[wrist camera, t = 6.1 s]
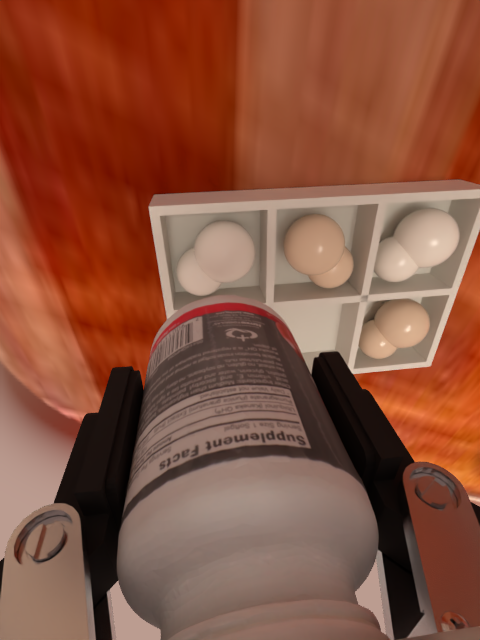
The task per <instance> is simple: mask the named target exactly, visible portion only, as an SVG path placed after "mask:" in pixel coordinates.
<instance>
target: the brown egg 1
mask: <svg viewBox="0 0 480 640" xmlns="http://www.w3.org/2000/svg"><path fill="white" fill-rule="evenodd" d="M283 248H284V254H285V257H286V259H287V261H288V263H289V264H290V265H291V267H292V268H293V269H295V270H296V271H298V272H300V273H302V274H305V275H308V277H309V279H310V280H311V281H312V282H313V283H314V284H316V285H317V286H319V287H322V288H335V287H338V286H340V285H342V284H343V283H345V282H346V281H347V280H348V279H349V277H350V276H351V274H352V271H353V267H354V261H353V257H352V254H351V252H350V251H349V250H348V248H347V247H346V246H345V237H344V233H343V231H342V229H341V227H340V226H339V225H338V223H337V222H336V221H335V220H333V219H332V218H330V217H328V216H326V215H322V214H309V215H305V216H303V217H301V218H299V219H297V220H296V221H295V222H294V223H293V224H292V225H291V226H290V227H289V229H288V230H287V232H286V235H285V238H284V243H283Z"/></svg>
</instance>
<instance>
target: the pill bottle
mask: <svg viewBox="0 0 480 640" xmlns="http://www.w3.org/2000/svg"><path fill="white" fill-rule="evenodd" d="M378 541H379V534H378V526H377V521H376V517H375V514H374V511H373V509H372V506H371V503H370V500H369V498H368V494H367V492H366V489H365V486H364V484H363V481H362V479H361V478H360V476H359V474H358V473H357V471H356V469H355V467H354V465H353V463H352V461H351V459H350V457H349V455H348V453H347V451H346V449H345V447H344V445H343V443H342V441H341V439H340V436H339V434H338V432H337V430H336V428H335V426H334V424H333V421H332V419H331V417H330V415H329V413H328V411H327V409H326V407H325V405H324V402H323V400H322V398H321V395H320V393H319V391H318V389H317V386H316V384H315V382H314V380H313V378H312V376H311V373H310V371H309V369H308V367H307V365H306V363H305V360H304V358H303V356H302V354H301V351H300V349H299V347H298V345H297V343H296V341H295V339H294V337H293V334H292V332H291V331H290V329H289V327H288V326H287V324H286V323H285V321H284V320H283V319H282V317H281V316H280V315H279V314H277V313H276V312H275V311H274V310H273V309H271V308H270V307H269V306H267V305H265V304H263V303H261V302H259V301H257V300H254V299H250V298H245V297H240V296H236V295H217V296H212V297H208V298H204V299H201V300H197V301H194V302H192V303H189V304H187V305H185V306H184V307H182V308H181V309H179V310H178V311H177V312H175V313H174V314H173V315H172V316H171V317H169V318H168V319H167V320H166V322H165V323H164V324H163V325H162V327H161V328H160V330H159V331H158V333H157V335H156V337H155V339H154V342H153V345H152V349H151V354H150V358H149V364H148V368H147V374H146V381H145V387H144V392H143V397H142V404H141V410H140V415H139V422H138V428H137V434H136V440H135V446H134V452H133V457H132V463H131V469H130V476H129V480H128V483H127V486H126V491H125V505H124V510H123V516H122V522H121V527H120V531H119V537H118V551H117V576H118V581H119V585H120V587H121V591H122V593H123V595H124V597H125V599H126V601H127V603H128V604H129V605H130V607H131V608H132V609H133V611H134V612H135V613H136V614H138V616H140V617H141V618H142V619H143V620H145V621H146V622H148V623H150V624H151V625H154V626H155V627H157V628H159V629H160V630H161V640H390V639H389V637H388V636H387V635H385V634H384V633H382V632H381V629H380V625H379V622H378V620H377V619H376V617H375V615H374V614H373V612H371V611H370V610H369V609H367V608H364V607H362V606H360V605H358V602H357V599H356V595H355V591H356V590H357V589H358V588H359V587H360V586H361V585H362V583H363V582H364V581H365V580H366V578H367V577H368V575H369V573H370V571H371V569H372V567H373V565H374V562H375V559H376V555H377V550H378Z"/></svg>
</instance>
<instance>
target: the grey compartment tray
mask: <svg viewBox="0 0 480 640" xmlns="http://www.w3.org/2000/svg"><path fill="white" fill-rule="evenodd" d="M423 208H436V209H440V210H443V211H445V212H447V213H449V214H450V215H451V216H452V217H453V218H454V219H455V221H456V222H457V224H458V227H459V242H458V245H457V247H456V249H455V251H454V252H453V254H452V255H451V256H450V257H449V258H448V259H447V260H445V261H444V262H442V263H440V264H438V265H436V266H433V267H429V268H419V269H418V270H417V272H416V273H415V274H414V275H413V276H411V277H410V278H408V279H407V280H404V281H401V282H389V281H385V280H383V279H381V278H380V277H379V276H377V275H376V273H375V272H374V266H375V261H376V256H377V251H378V246H379V243H380V242H381V241H383V240H384V239H386V238H388V237H392V236H393V235H394V232H395V229H396V227H397V226H398V224H399V223H400V222H401V220H402V219H403V218H404V217H406V216H407V215H408V214H410V213H412V212H414V211H416V210H419V209H423ZM149 213H150V219H151V225H152V231H153V237H154V243H155V249H156V255H157V262H158V268H159V274H160V280H161V286H162V292H163V298H164V304H165V310H166V316H167V319H168V318H169V317H171V316H172V315H173V314H174V313H175V312H177V311H178V310H179V309H181V308H182V307H184V306H185V305H187V304H189V303H192V302H194V301H197V300H201V299H204V298H208V297H212V296H217V295H236V296H240V297H245V298H250V299H254V300H257V301H259V302H261V303H263V304H265V305H267V306H269V307H270V308H271V309H273V310H274V311H275V312H276V313H277V314H279V315H280V316H281V317H282V319H283V320H284V321H285V323H286V324H287V326H288V327H289V329H290V331H291V332H292V334H293V337H294V339H295V341H296V343H297V345H298V347H299V349H300V351H301V354H302V356H303V358H304V360H305V363H306V365H307V367H308V369H309V371H310V373H312V366H313V360H314V358H315V357H318V356H319V354H320V353H321V352H333V351H338V352H339V353H340V354H341V356H342V358H343V359H344V361H345V362H346V364H347V366H348V367H349V369H350V371H351V372H352V374H358V373H368V372H378V371H388V370H398V369H407V368H417V367H427V366H431V363H432V361H433V358H434V355H435V352H436V350H437V347H438V344H439V341H440V338H441V336H442V333H443V330H444V327H445V325H446V322H447V319H448V316H449V313H450V311H451V308H452V305H453V302H454V300H455V297H456V294H457V291H458V288H459V286H460V283H461V280H462V277H463V275H464V272H465V269H466V266H467V263H468V261H469V258H470V255H471V252H472V250H473V247H474V244H475V241H476V238H477V236H478V233H479V230H480V185H479V184H475V183H471V182H467V181H464V180H460V179H458V180H438V181H418V182H397V183H377V184H357V185H337V186H316V187H296V188H276V189H256V190H236V191H215V192H195V193H175V194H155V195H154V196H153V198H152V200H151V202H150V204H149ZM309 214H322V215H326V216H328V217H330V218H332V219H333V220H335V221H336V222H337V223H338V225H339V226H340V227H341V229H342V231H343V233H344V237H345V246H346V247H347V248H348V250H349V251H350V252H351V254H352V257H353V261H354V267H353V271H352V274H351V276H350V277H349V279H348V280H347V281H346V282H345V283H343V284H342V285H340V286H338V287H335V288H322V287H319V286H317V285H316V284H314V283H313V282H312V281H311V280H310V279H309V277H308V275H305V274H302V273H300V272H298V271H296V270H295V269H293V268H292V267H291V265H290V264H289V263H288V261H287V259H286V257H285V254H284V248H283V243H284V238H285V235H286V232H287V230H288V229H289V227H290V226H291V225H292V224H293V223H294V222H295V221H296V220H297V219H299V218H301V217H303V216H305V215H309ZM221 220H228V221H233V222H236V223H238V224H240V225H241V226H243V227H244V228H245V229H246V230H247V231H248V232H249V234H250V235H251V237H252V239H253V241H254V245H255V259H254V263H253V265H252V267H251V269H250V270H249V272H248V273H247V274H246V275H245V276H244V277H242V278H241V279H239V280H237V281H235V282H231V283H222V284H221V286H220V287H219V288H218V289H217V290H216V291H215V292H213V293H211V294H209V295H205V296H197V295H193V294H191V293H189V292H187V291H186V290H184V289H183V287H182V286H181V285H180V283H179V281H178V279H177V275H176V267H177V263H178V261H179V259H180V257H181V256H182V255H183V254H184V253H185V252H186V251H188V250H189V249H192V248H194V245H195V241H196V238H197V236H198V235H199V233H200V232H201V231H202V230H203V228H205V227H206V226H207V225H209V224H211V223H213V222H216V221H221ZM405 298H409V299H412V300H414V301H416V302H418V303H420V304H421V305H422V306H423V307H424V308H425V310H426V311H427V313H428V316H429V319H430V327H429V331H428V333H427V335H426V336H425V338H424V339H423V340H422V341H421V342H419V343H418V344H416V345H414V346H412V347H408V348H397V350H396V351H395V352H394V353H393V354H392V355H391V356H389V357H386V358H383V359H375V358H371V357H369V356H367V355H365V354H364V353H363V352H362V351H361V349H360V348H359V346H358V344H359V339H360V334H361V330H362V325H363V324H365V323H366V322H368V321H370V320H374V318H375V315H376V312H377V310H378V309H379V308H380V307H381V306H382V305H383V304H384V303H385V302H387V301H389V300H393V299H405Z"/></svg>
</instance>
